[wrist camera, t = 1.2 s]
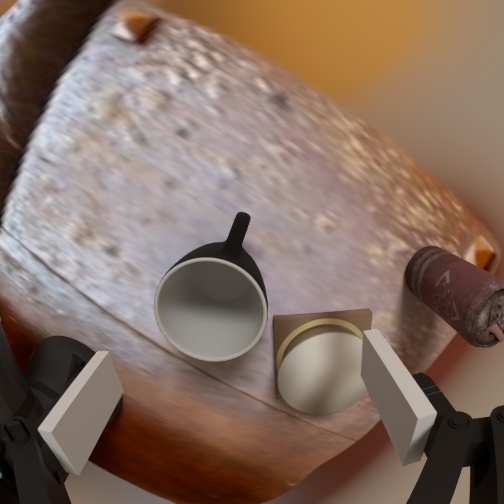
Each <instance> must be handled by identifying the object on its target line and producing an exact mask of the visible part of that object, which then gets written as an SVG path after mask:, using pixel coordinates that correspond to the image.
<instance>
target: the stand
mask: <svg viewBox="0 0 504 504" xmlns="http://www.w3.org/2000/svg"><path fill="white" fill-rule="evenodd" d="M371 322H372V312H371V310H370V309H359V310H348V311H336V312H323V313H309V314H294V315H277V316H274V344H275V377H276V398H283V399H284V400H285V401H286V402H287V403H288V404H289V405H290V406H291V407H293V408H294V409H296V410H298V411H301V412H304V413H308V414H318V415H320V414H330V413H334V412H338V411H341V410H343V409H346V408H348V407H350V406H351V405H353V404H355V403H356V402H357V401H359V400H360V399H361V398H362V397H363V396H364V395H365V394H366V393H367V392H368V390H367V388H366V386H365V384H364V381H363V379H362V377H361V375H360V374H361V360H362V343H363V331H366V330H371Z"/></svg>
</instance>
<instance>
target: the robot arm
mask: <svg viewBox="0 0 504 504" xmlns="http://www.w3.org/2000/svg"><path fill="white" fill-rule="evenodd" d="M0 322H1V318H0ZM360 375H361V377H362V379H363V381H364V384H365V386H366V388H367V390H368V392H369V394H370V396H371V398H372V400H373V402H374V404H375V406H376V408H377V411H378V413H379V415H380V417H381V419H382V421H383V423H384V425H385V427H386V430H387V432H388V434H389V436H390V438H391V440H392V443H393V445H394V447H395V449H396V451H397V454H398V456H399V458H400V460H401V462H402V465H403V466H405V465H408V464H411V463H414V462H417V461H420V460H421V457H422V455H423V452H425V454H426V456H427V461H426V463H425V465H424V468H423V470H422V472H421V474H420V477H419V479H418V481H417V483H416V485H415V487H414V489H413V491H412V493H411V495H410V498H409V499H408V501H407V503H406V504H450V502H451V499H452V496H453V494H454V491H455V488H456V485H457V482H458V479H459V476H460V473H461V470H462V467H468V466H470V500H469V504H504V405H502V406H498V407H496V408H495V409H493V411H492V413H491V415H490V417H484V418H476V419H472V418H471V416H469V415H468V414H467V413H464V412H459V411H456V410H455V409H454V408H453V407H452V405H451V404H450V402H449V401H448V400H447V398H446V397H445V396H444V394H443V393H442V392H440V389H439V388H438V387H437V386H436V384H435V383H434V381H433V380H432V379H431V378H430V377H429V376H427V375H425V374H424V373H422V372H421V373H417V374H413V375H411V374H410V373H409V371H408V370H407V369H406V367H405V366H404V364H403V363H402V362H401V360H400V359H399V358H398V356H397V355H396V353H395V352H394V351H393V349H392V348H391V347H390V345H389V344H388V342H387V341H386V340H385V338H384V337H383V336H382V334H381V333H380V332H379V330H378V329H372V330H366V331H363V343H362V360H361V374H360ZM123 392H124V391H123V388H122V386H121V383H120V380H119V378H118V375H117V372H116V369H115V367H114V364H113V361H112V358H111V355H110V352H109V351H97V352H96V353H95V352H94V351H93V350H92V349H90V348H89V347H87V346H86V345H84V344H83V343H81V342H79V341H77V340H74V339H72V338H69V337H65V336H51V337H48V338H46V339H44V340H43V341H42V342H41V343H40V344H39V345H37V346H36V347H35V349H34V350H33V351H32V353H31V356H30V358H29V362H28V364H27V366H26V368H25V371H24V373H22V371H21V369H20V367H19V365H18V363H17V361H16V358H15V356H14V354H13V352H12V350H11V347H10V345H9V343H8V341H7V338H6V336H5V334H4V331H3V329H2V326H1V324H0V504H71V502H70V499H69V496H68V494H67V491H66V488H65V485H64V482H65V480H66V478H67V476H68V474H69V473H71V474H75V475H79V476H80V474H81V472H82V470H83V468H84V466H85V464H86V462H87V460H88V458H89V456H90V454H91V453H92V451H93V449H94V447H95V445H96V443H97V441H98V439H99V437H100V435H101V433H102V431H103V429H104V428H105V426H106V425H108V424H109V423H111V422H112V420H113V419H114V418H115V416H116V414H117V413H118V411H119V409H120V407H121V403H122V394H123Z"/></svg>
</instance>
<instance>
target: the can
mask: <svg viewBox="0 0 504 504" xmlns="http://www.w3.org/2000/svg"><path fill="white" fill-rule="evenodd" d="M406 278H407V284H408V286H409V289H410V290H411V291H412V292H413V293H414V294H415V295H416V296H417V297H418V298H420V299H421V300H422V301H423V302H424V303H425V304H426V305H428V306H429V307H430V308H431V309H432V310H433V311H434V312H436V313H437V314H438V315H439V316H440V317H441V318H442V319H443V320H445V321H446V322H447V323H448V324H449V325H450V326H451V327H452V328H453V329H454V330H456V331H457V332H458V333H459V334H460V335H461V336H462V337H463V338H464V339H465V340H466V341H467V342H469V343H470V344H471V345H473V346H476V347H482V348H488V347H492V346H494V345H496V344H497V343H498V342H502V341H503V340H504V280H502V279H500V278H498V277H496V276H494V275H493V274H491V273H489V272H487V271H485V270H483V269H481V268H479V267H477V266H475V265H473V264H471V263H469V262H467V261H465V260H463V259H461V258H459V257H457V256H455V255H453V254H451V253H449V252H447V251H445V250H443V249H441V248H439V247H436V246H428V247H424V248H422V249H421V250H419V251H418V252H417V253H416V254H415V255H414V256H413V257H412V258H411V260H410V263H409V265H408V268H407V273H406Z"/></svg>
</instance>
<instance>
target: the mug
mask: <svg viewBox="0 0 504 504" xmlns="http://www.w3.org/2000/svg"><path fill="white" fill-rule="evenodd" d="M249 222H250V215H248V214H247V213H245V212H239V213H238V214H237V215H236V218H235V220H234V223H233V225H232V228H231V230H230V233H229V236H228V238H227V240H226V241H224V242H216V243H210V244H207V245H204V246H201V247H199V248H197V249H195V250H193V251H192V252H190V253H188V254H187V255H186V256H184V257H183V258H181V259H180V260H179V261H178V262H177V263H176V264H174V265H173V266H172V267H171V268H170V269H169V270H168V272H167V273H166V274H165V275H164V277H163V278H162V280H161V281H160V283H159V285H158V288H157V290H156V294H155V298H154V312H155V317H156V321H157V324H158V326H159V328H160V330H161V332H162V333H163V335H164V336H165V338H166V339H167V340H168V341H169V342H170V343H171V344H172V345H173V346H174V347H175V348H176V349H178V350H179V351H181V352H182V353H184V354H186V355H188V356H190V357H192V358H195V359H199V360H203V361H210V362H220V361H227V360H231V359H234V358H237V357H239V356H241V355H243V354H245V353H246V352H248V351H249V350H250V349H251V348H253V347H254V346H255V345H256V343H257V342H258V341H259V339H260V338H261V336H262V334H263V332H264V330H265V327H266V323H267V318H268V302H267V295H266V290H265V285H264V282H263V279H262V276H261V273H260V271H259V268H258V267H257V265H256V263H255V261H254V260H253V259H252V257H251V256H250V255H249V254H248V253H247V252H246V251H245V250H244V249H243V248H242V243H243V240H244V237H245V234H246V231H247V228H248V225H249Z"/></svg>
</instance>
